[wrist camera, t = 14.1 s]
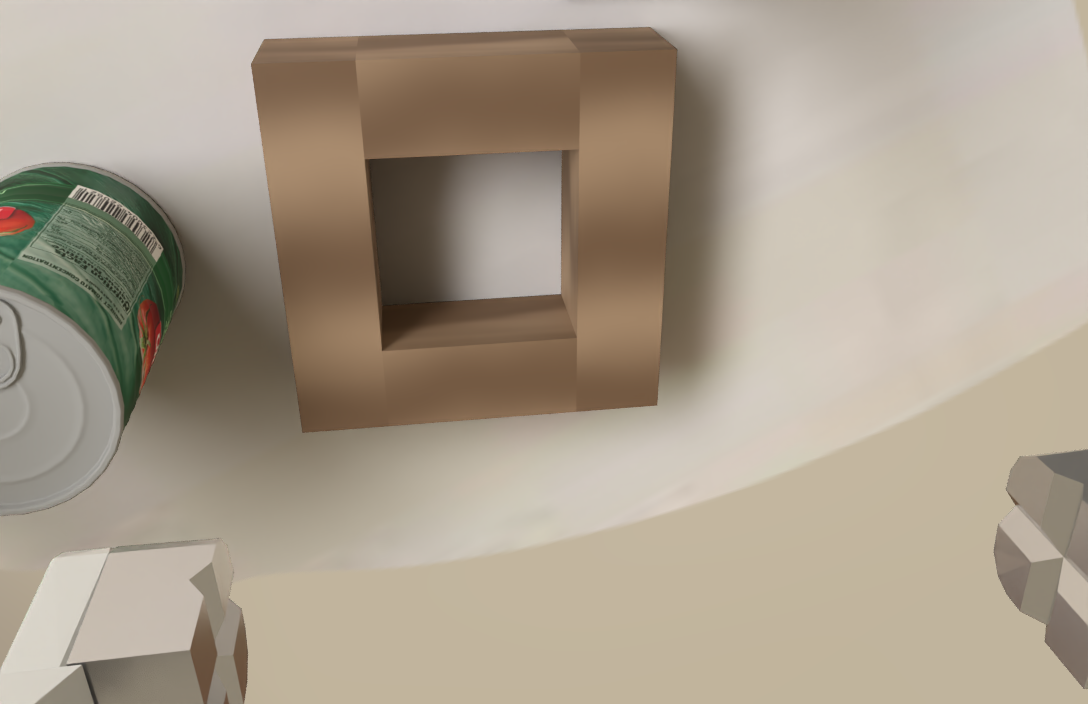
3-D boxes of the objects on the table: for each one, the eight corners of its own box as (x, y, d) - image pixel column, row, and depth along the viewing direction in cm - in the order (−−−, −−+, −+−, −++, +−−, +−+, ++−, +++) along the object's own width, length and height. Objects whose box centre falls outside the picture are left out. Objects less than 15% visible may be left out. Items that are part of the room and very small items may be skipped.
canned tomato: (165, 372, 41) (98, 541, 32) (-45, 323, 39) (-184, 489, 30) (205, 195, 38) (145, 324, 29) (-21, 132, 36) (-168, 248, 26)
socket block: (264, 39, 36) (251, 63, 32) (649, 27, 38) (677, 49, 34) (309, 381, 42) (302, 432, 39) (635, 358, 44) (657, 405, 41)
